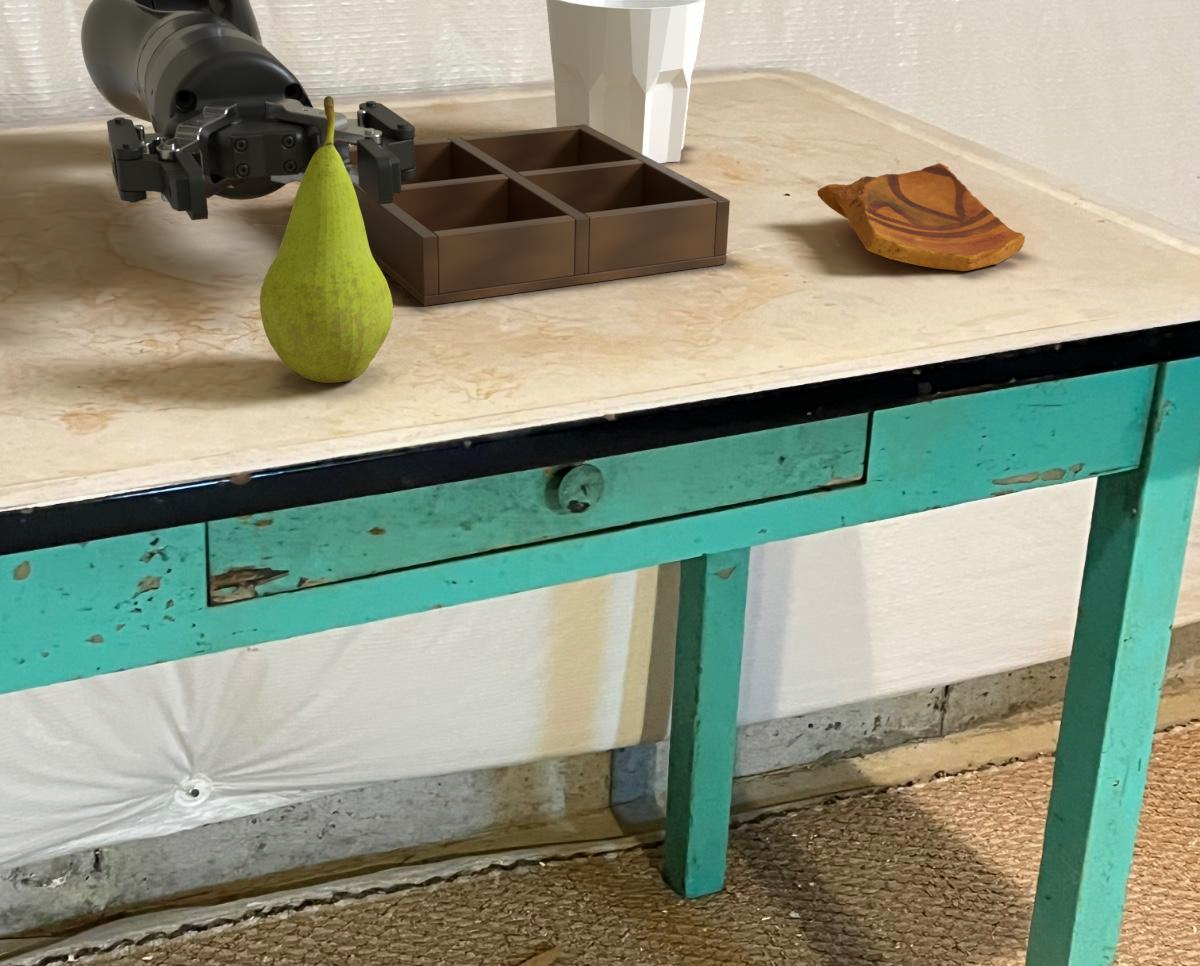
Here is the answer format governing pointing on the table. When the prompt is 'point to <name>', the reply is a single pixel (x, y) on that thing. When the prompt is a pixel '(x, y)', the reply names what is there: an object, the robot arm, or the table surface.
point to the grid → (538, 216)
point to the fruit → (326, 278)
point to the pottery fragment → (923, 220)
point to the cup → (626, 69)
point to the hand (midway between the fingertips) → (294, 190)
